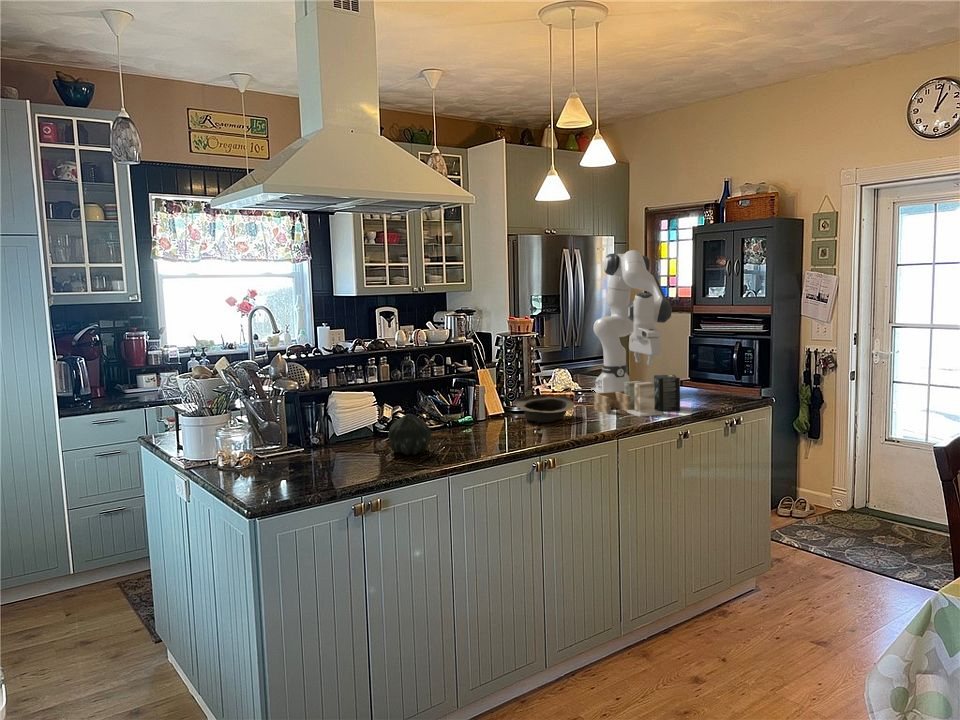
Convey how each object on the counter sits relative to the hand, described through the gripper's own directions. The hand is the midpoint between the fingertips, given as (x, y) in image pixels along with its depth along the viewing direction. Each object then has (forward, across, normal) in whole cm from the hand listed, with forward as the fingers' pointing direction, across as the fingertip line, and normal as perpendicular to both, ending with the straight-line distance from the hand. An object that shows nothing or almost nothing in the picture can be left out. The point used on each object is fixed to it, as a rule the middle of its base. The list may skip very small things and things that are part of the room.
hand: (643, 363), depth 309 cm
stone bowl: (+22, -6, -43) cm, 49 cm away
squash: (+22, +27, -107) cm, 113 cm away
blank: (+20, 0, 0) cm, 21 cm away
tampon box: (+22, -5, +14) cm, 26 cm away
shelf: (+22, -12, -4) cm, 25 cm away
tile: (+22, 0, 0) cm, 22 cm away
